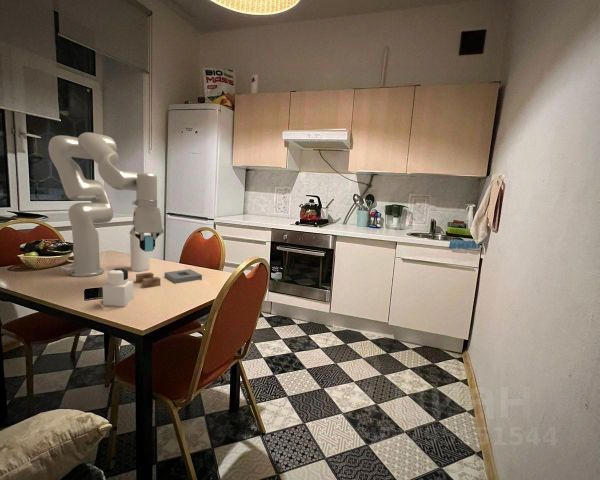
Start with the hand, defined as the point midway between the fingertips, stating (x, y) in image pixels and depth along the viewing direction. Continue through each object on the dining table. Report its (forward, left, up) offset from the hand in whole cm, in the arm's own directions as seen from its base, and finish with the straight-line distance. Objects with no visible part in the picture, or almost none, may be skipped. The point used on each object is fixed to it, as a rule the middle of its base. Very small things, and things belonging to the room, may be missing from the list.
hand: (147, 248), depth 130 cm
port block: (+15, 0, -15) cm, 21 cm away
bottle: (+5, +26, -15) cm, 31 cm away
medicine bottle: (-15, -16, -15) cm, 27 cm away
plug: (0, 0, -1) cm, 1 cm away
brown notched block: (0, 0, -15) cm, 15 cm away
